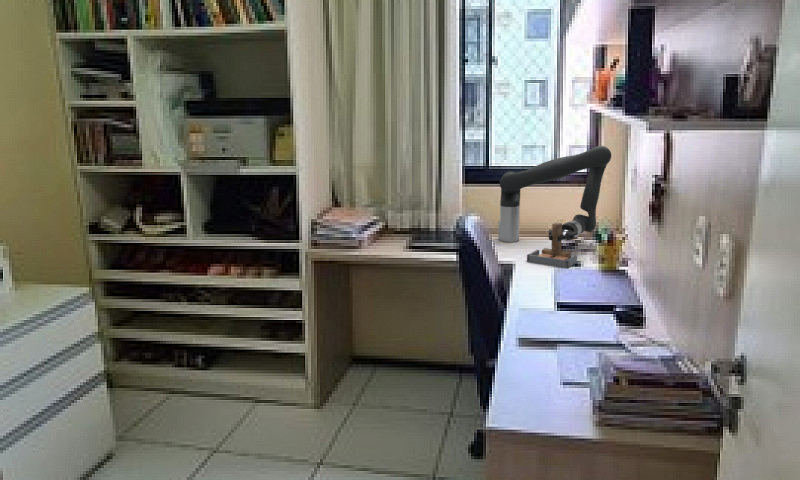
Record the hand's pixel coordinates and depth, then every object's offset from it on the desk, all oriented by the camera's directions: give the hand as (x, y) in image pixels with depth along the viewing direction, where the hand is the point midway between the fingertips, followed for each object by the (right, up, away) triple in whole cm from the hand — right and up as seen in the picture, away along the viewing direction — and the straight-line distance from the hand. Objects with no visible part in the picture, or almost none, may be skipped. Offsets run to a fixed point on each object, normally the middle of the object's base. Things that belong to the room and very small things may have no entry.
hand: (554, 238), depth 245 cm
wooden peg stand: (+2, -8, +5) cm, 10 cm away
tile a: (-3, -10, +4) cm, 11 cm away
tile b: (+2, -11, 0) cm, 11 cm away
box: (-1, -10, +1) cm, 10 cm away
